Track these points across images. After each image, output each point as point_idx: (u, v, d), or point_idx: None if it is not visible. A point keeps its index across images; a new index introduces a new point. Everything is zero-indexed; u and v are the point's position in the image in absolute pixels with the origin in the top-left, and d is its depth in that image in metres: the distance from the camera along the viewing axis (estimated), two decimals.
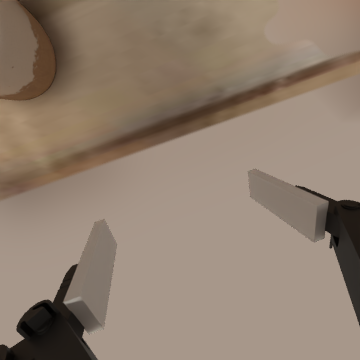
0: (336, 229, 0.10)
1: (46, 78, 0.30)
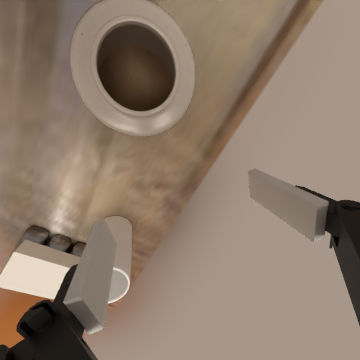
0: (336, 229, 0.10)
1: None
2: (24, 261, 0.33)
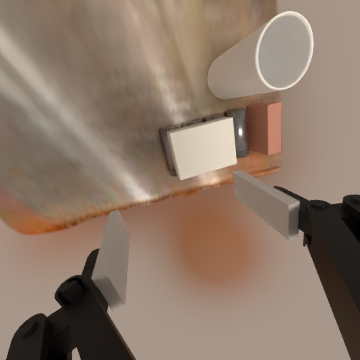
0: (308, 228, 0.10)
1: None
2: (184, 138, 0.31)
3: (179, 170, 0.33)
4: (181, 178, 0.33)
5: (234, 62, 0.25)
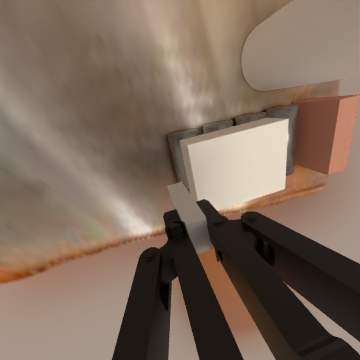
0: (216, 245, 0.11)
1: None
2: (210, 152, 0.19)
3: None
4: None
5: (320, 14, 0.13)
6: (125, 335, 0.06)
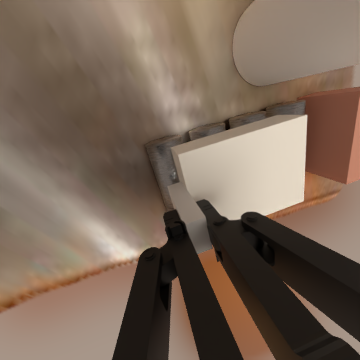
0: (216, 245, 0.11)
1: None
2: (208, 162, 0.15)
3: None
4: None
5: None
6: (125, 335, 0.06)
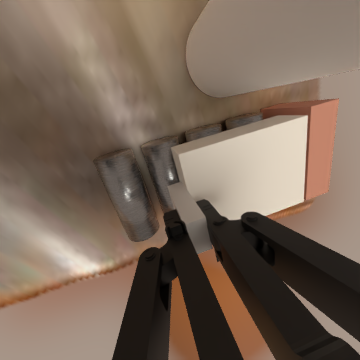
0: (216, 245, 0.11)
1: None
2: (208, 162, 0.15)
3: None
4: None
5: None
6: (125, 335, 0.06)
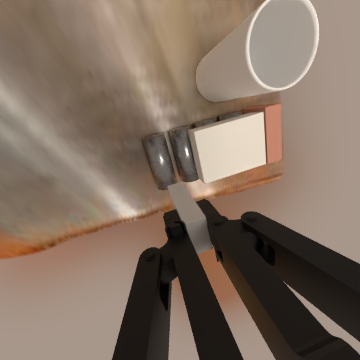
0: (216, 245, 0.11)
1: None
2: (209, 136, 0.27)
3: (203, 173, 0.29)
4: (205, 181, 0.30)
5: (222, 59, 0.21)
6: (125, 335, 0.06)
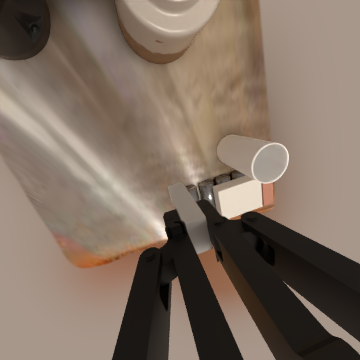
0: (217, 245, 0.11)
1: None
2: (227, 193, 0.44)
3: (222, 214, 0.46)
4: None
5: (237, 159, 0.38)
6: (125, 335, 0.06)
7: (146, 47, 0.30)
